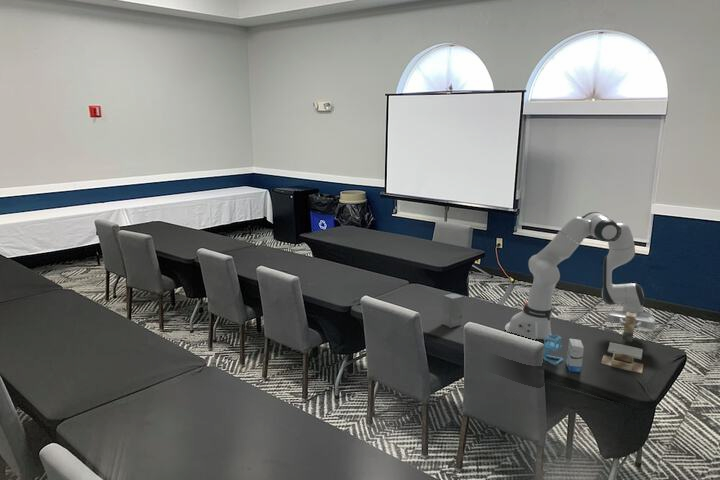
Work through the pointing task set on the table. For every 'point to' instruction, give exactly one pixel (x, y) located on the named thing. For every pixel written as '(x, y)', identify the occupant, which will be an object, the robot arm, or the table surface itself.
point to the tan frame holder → (622, 365)
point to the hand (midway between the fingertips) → (629, 325)
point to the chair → (552, 348)
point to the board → (625, 350)
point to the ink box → (575, 355)
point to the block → (629, 326)
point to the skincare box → (452, 310)
